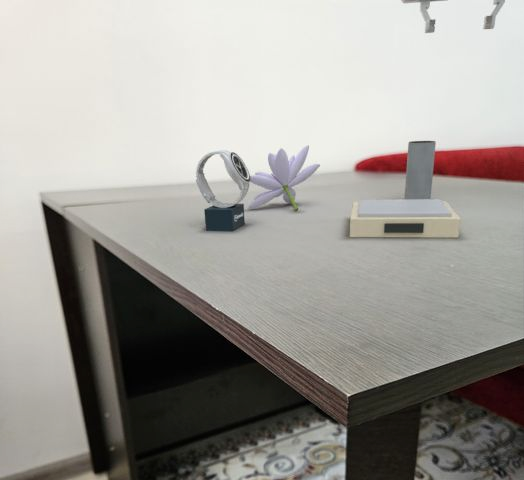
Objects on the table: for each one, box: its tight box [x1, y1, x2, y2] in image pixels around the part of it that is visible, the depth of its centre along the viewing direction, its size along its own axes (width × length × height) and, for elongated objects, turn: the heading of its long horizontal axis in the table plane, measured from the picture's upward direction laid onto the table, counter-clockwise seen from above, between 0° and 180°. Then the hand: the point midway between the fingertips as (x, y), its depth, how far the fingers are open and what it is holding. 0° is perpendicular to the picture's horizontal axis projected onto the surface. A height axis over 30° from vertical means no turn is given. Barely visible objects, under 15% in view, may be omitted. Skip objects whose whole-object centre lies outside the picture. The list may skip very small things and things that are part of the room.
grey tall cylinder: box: [403, 140, 437, 200], centre depth 92 cm, size 4×4×10 cm
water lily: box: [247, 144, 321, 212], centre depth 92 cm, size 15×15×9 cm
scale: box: [349, 198, 461, 239], centre depth 75 cm, size 14×14×3 cm
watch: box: [195, 150, 251, 232], centre depth 78 cm, size 6×8×11 cm
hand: (458, 30), depth 88 cm, fingers open, 8 cm apart
